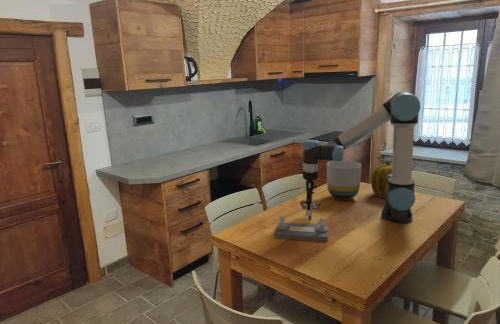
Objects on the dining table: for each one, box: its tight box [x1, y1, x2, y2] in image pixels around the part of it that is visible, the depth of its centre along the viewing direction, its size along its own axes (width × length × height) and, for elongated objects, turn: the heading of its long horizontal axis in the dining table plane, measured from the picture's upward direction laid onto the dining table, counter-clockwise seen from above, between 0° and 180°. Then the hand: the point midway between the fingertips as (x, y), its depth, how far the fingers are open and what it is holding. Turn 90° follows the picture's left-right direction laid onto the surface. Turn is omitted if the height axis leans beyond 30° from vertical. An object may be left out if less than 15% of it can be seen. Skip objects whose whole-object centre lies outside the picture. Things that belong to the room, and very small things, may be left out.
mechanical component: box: [299, 200, 321, 222], centre depth 196 cm, size 3×10×10 cm, turn 78°
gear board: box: [274, 215, 329, 242], centre depth 180 cm, size 24×14×8 cm, turn 79°
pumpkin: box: [370, 154, 392, 199], centre depth 227 cm, size 19×19×25 cm
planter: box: [326, 159, 362, 201], centre depth 225 cm, size 20×20×21 cm
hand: (309, 210), depth 196 cm, fingers open, 13 cm apart
